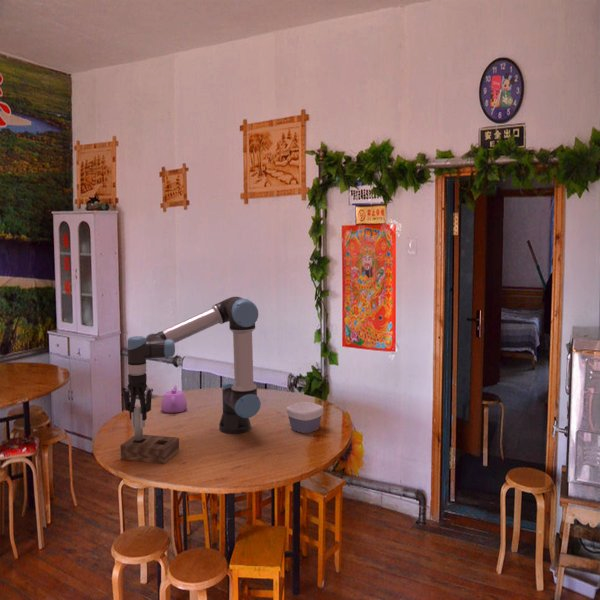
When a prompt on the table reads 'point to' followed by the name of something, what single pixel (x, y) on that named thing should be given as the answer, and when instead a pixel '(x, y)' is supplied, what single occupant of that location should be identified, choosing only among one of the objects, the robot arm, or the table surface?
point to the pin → (137, 424)
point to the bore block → (150, 449)
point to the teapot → (174, 401)
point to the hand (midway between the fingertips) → (138, 426)
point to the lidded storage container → (304, 416)
